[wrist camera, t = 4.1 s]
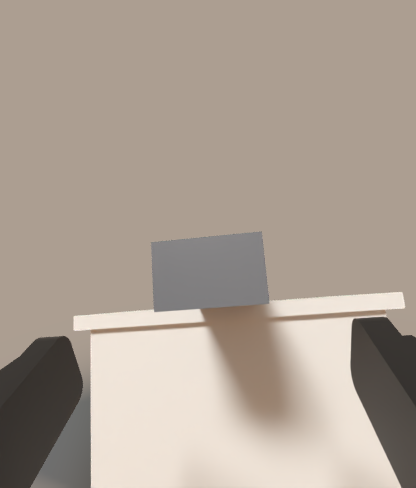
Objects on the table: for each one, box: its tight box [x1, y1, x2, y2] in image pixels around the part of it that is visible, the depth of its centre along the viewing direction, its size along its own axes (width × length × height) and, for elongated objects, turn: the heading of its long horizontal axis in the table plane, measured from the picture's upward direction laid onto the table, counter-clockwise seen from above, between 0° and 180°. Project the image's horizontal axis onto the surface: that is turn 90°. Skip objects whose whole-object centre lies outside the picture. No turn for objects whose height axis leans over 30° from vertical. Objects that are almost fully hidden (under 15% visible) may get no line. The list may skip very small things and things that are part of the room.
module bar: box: [151, 232, 269, 312], centre depth 23 cm, size 4×24×6 cm, turn 173°
